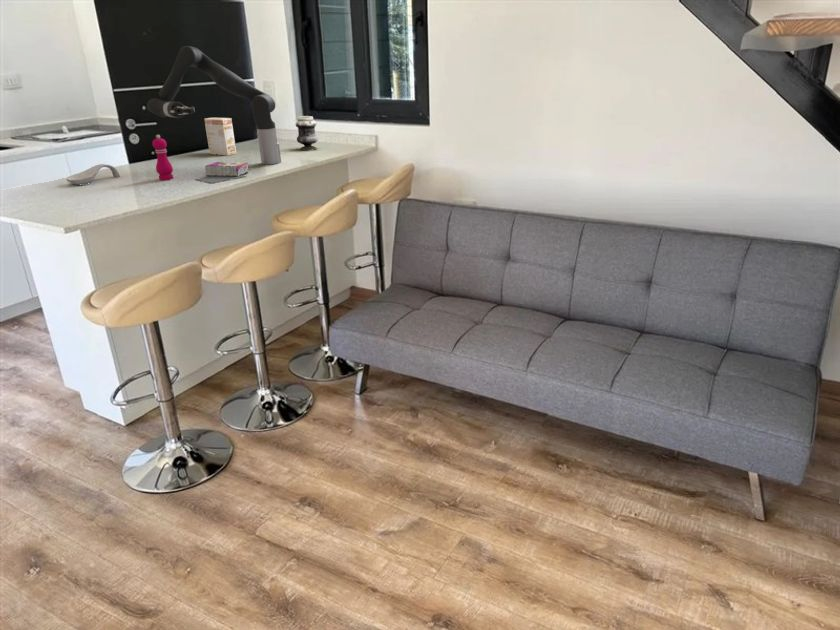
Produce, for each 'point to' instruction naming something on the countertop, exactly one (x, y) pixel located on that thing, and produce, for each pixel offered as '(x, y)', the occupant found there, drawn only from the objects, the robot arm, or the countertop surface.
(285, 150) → the countertop surface
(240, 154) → the countertop surface
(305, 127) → the apothecary jar
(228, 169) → the candy bar box
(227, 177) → the rubber mat
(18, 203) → the countertop surface
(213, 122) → the coffeecake box
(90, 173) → the spoon rest
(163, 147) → the pepper mill
